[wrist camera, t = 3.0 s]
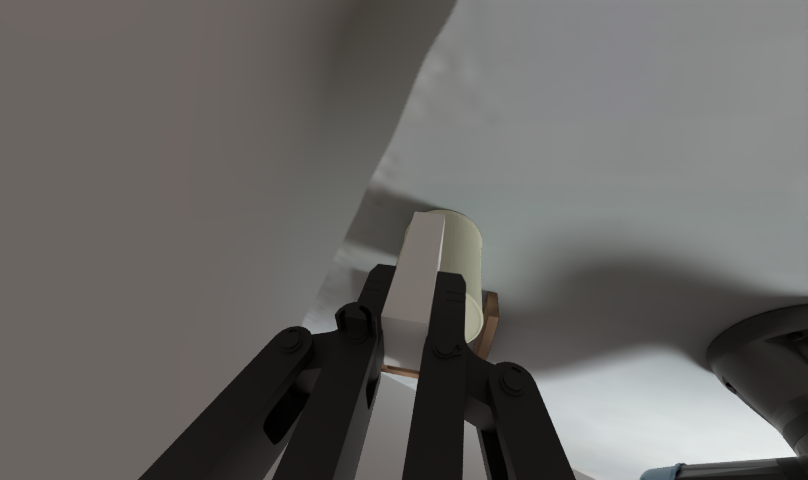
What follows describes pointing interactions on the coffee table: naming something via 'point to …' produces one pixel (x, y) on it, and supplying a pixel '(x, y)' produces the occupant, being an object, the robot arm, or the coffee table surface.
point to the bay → (482, 338)
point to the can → (462, 264)
